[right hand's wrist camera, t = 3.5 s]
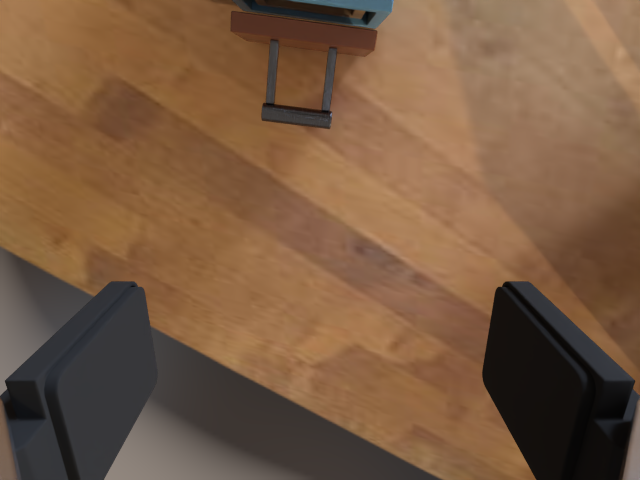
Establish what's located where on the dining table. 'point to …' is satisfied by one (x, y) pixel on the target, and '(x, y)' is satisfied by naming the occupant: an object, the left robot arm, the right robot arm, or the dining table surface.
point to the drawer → (307, 38)
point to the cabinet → (374, 3)
